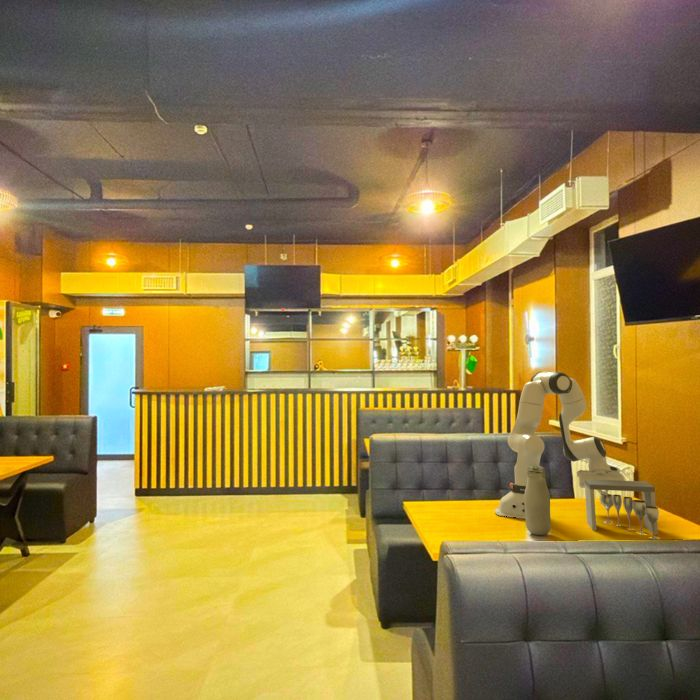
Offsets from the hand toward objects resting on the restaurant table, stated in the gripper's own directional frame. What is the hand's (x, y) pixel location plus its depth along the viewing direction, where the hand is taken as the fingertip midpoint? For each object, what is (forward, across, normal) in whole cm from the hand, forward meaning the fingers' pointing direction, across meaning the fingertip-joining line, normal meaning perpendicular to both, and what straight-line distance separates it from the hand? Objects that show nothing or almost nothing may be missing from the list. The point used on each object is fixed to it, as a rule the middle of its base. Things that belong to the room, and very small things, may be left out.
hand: (604, 495), depth 220 cm
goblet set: (+22, +5, -9) cm, 24 cm away
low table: (+22, +2, -9) cm, 24 cm away
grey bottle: (+34, -32, -20) cm, 51 cm away
